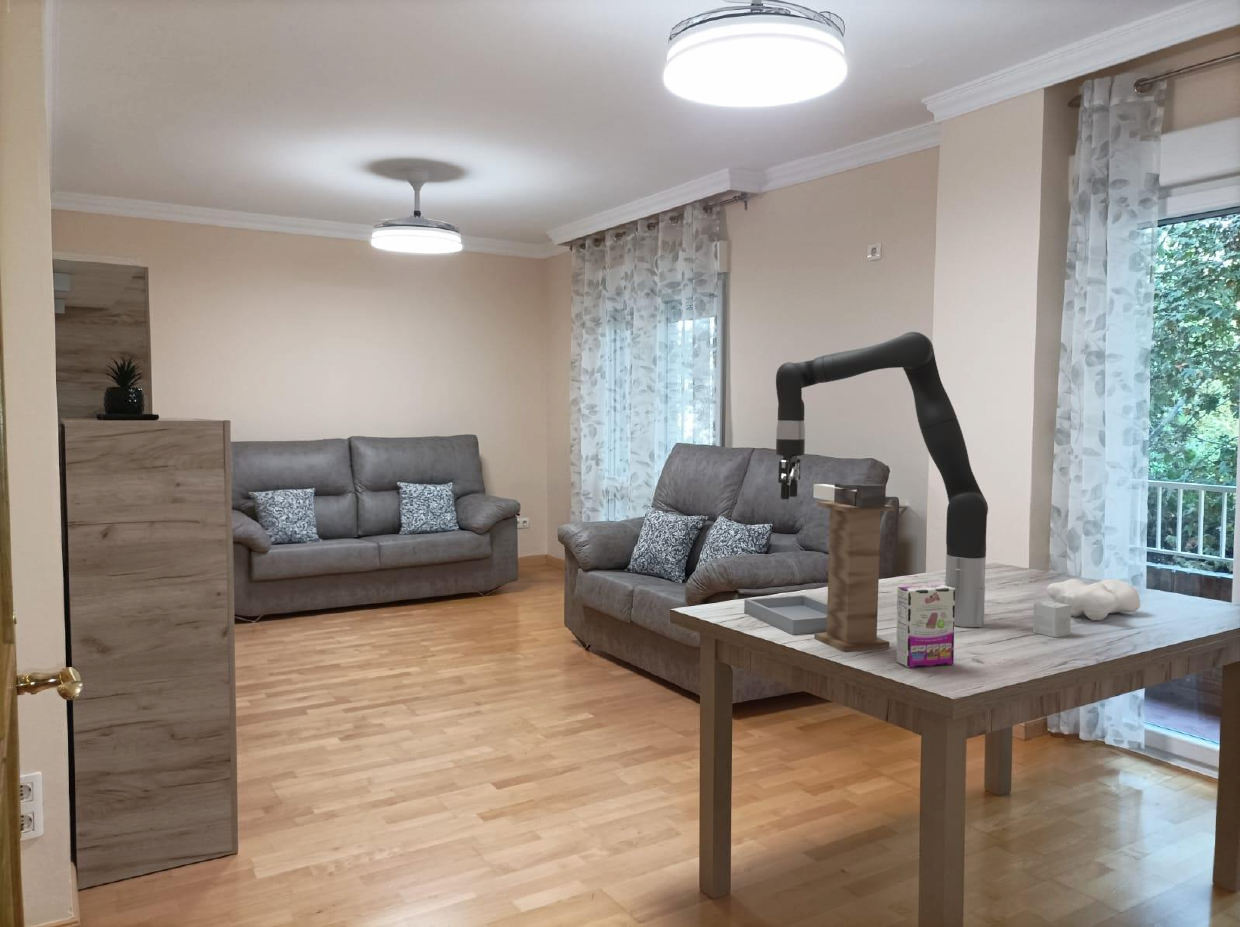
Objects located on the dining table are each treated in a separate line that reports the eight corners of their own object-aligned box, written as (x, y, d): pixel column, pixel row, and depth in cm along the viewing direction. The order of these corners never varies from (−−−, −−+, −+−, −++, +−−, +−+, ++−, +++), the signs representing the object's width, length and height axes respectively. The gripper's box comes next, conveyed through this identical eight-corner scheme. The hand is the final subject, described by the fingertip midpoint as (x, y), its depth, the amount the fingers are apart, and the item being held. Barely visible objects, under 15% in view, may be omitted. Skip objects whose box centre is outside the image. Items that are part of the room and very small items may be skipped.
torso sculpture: (1083, 610, 254) (1031, 613, 240) (1086, 574, 254) (1035, 575, 240) (1150, 623, 239) (1100, 627, 225) (1154, 586, 239) (1104, 587, 225)
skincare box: (1070, 635, 220) (1072, 604, 220) (1054, 638, 217) (1056, 607, 217) (1048, 629, 225) (1049, 600, 225) (1032, 632, 222) (1033, 602, 222)
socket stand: (891, 648, 206) (897, 485, 203) (846, 652, 202) (851, 486, 199) (857, 634, 218) (862, 480, 215) (814, 638, 214) (818, 481, 211)
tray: (857, 629, 223) (857, 614, 223) (792, 634, 217) (793, 620, 217) (803, 607, 246) (804, 595, 245) (744, 612, 239) (744, 599, 239)
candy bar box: (939, 658, 198) (942, 583, 197) (954, 665, 193) (957, 588, 192) (894, 662, 195) (896, 585, 194) (907, 668, 190) (910, 590, 189)
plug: (872, 505, 205) (872, 491, 204) (860, 506, 204) (860, 491, 203) (824, 497, 222) (825, 484, 222) (813, 497, 221) (813, 484, 221)
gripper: (798, 438, 237) (796, 501, 239) (810, 437, 250) (809, 496, 251) (769, 438, 241) (768, 499, 242) (783, 436, 254) (782, 495, 255)
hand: (789, 497), depth 247 cm, fingers open, 8 cm apart
